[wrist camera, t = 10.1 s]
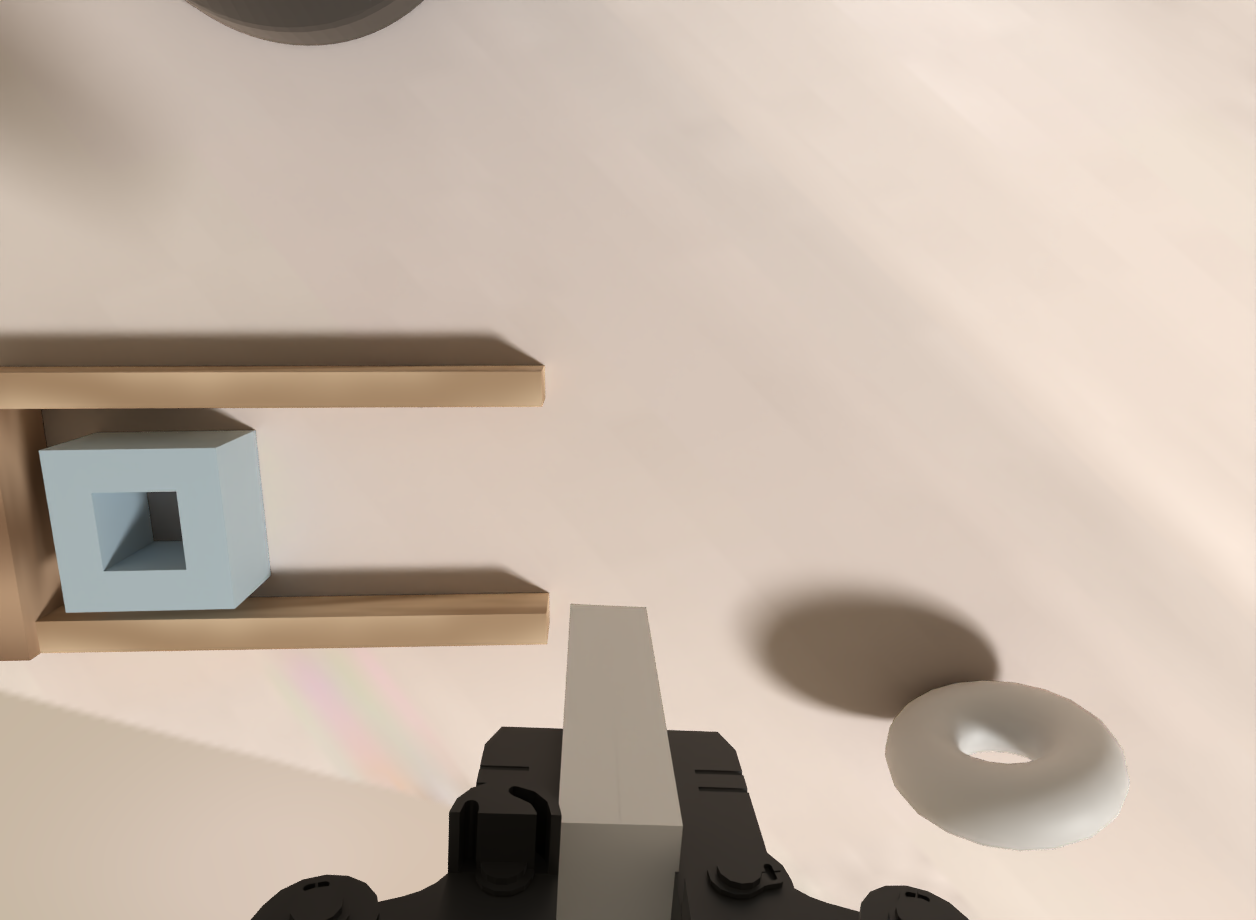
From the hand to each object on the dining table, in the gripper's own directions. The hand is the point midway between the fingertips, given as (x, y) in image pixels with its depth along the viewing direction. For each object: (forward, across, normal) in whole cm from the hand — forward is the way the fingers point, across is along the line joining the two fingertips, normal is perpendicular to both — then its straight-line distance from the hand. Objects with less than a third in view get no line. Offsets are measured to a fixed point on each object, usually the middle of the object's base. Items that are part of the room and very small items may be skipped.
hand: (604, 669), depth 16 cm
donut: (+22, +19, -12) cm, 32 cm away
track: (+22, -14, -3) cm, 26 cm away
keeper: (+22, -19, -4) cm, 29 cm away
